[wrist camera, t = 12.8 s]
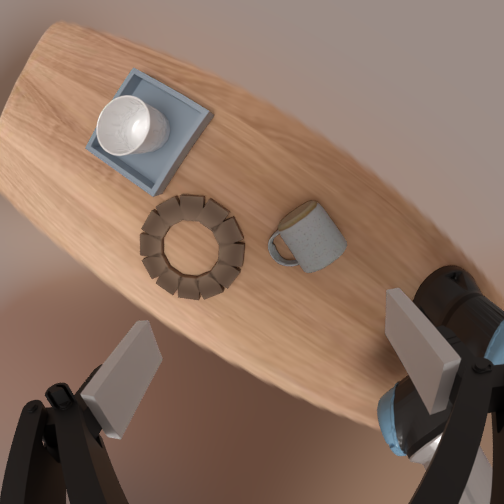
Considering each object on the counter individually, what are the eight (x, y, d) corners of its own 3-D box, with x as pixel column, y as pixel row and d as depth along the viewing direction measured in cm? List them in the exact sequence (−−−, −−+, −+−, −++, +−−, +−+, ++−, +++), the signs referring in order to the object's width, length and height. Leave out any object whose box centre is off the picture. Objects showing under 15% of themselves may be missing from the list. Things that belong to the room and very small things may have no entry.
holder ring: (265, 236, 46) (265, 238, 45) (207, 313, 50) (205, 317, 49) (175, 174, 44) (173, 174, 42) (127, 258, 48) (124, 260, 47)
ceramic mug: (312, 193, 44) (320, 201, 36) (341, 235, 45) (354, 250, 38) (256, 234, 46) (253, 249, 39) (287, 273, 48) (290, 294, 40)
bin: (214, 115, 41) (209, 111, 37) (162, 193, 45) (153, 196, 41) (143, 73, 39) (133, 67, 35) (97, 148, 43) (85, 148, 39)
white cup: (176, 105, 40) (152, 92, 30) (173, 155, 42) (148, 154, 33) (130, 109, 40) (98, 99, 30) (127, 156, 42) (94, 157, 33)
